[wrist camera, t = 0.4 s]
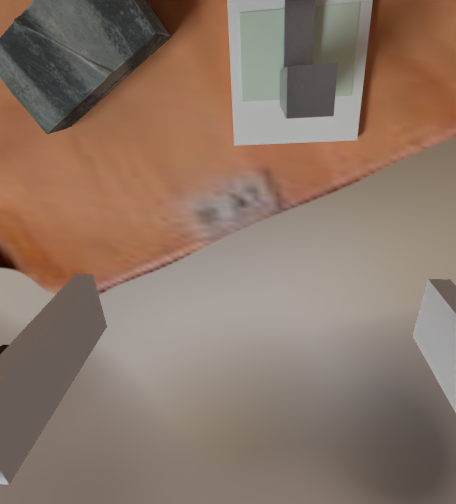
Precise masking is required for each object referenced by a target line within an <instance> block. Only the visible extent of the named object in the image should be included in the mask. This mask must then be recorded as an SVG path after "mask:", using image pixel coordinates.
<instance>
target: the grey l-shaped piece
mask: <svg viewBox="0 0 456 504" xmlns="http://www.w3.org/2000/svg"><path fill="white" fill-rule="evenodd" d="M314 18H315V0H285V1H284V68H283V69H280V107H281V109H282V111H283V113H284V115H285V117H286V119H289V118H308V117H328V116H334V105H335V92H336V80H337V67H338V63H330V64H315V65H312V59H313V38H314Z"/></svg>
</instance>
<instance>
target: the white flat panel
mask: <svg viewBox="0 0 456 504" xmlns="http://www.w3.org/2000/svg"><path fill="white" fill-rule="evenodd" d="M284 1H285V0H227V5H228V26H229V47H230V67H231V88H232V109H233V130H234V145H258V144H281V143H304V142H327V141H350V140H357V136H358V127H359V119H360V110H361V101H362V92H363V83H364V74H365V65H366V56H367V47H368V38H369V30H370V21H371V12H372V3H373V0H315V18H314V38H313V59H312V65H315V64H330V63H338V67H337V80H336V92H335V105H334V116H328V117H308V118H289V119H286V117H285V115H284V113H283V111H282V109H281V107H280V69H283V68H284Z"/></svg>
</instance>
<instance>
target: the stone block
mask: <svg viewBox="0 0 456 504" xmlns="http://www.w3.org/2000/svg"><path fill="white" fill-rule="evenodd" d="M170 37H171V35H170V34H169V33H168V31H167V30H166V28H165V27H164V25H163V24H162V22H161V21H160V19H159V18H158V16H157V15H156V13H155V12H154V10H153V9H152V8H151V6H150V5H149V3H148V2H147V0H34V1H33V2H32V3H31V4H30V5H29V7H28V8H27V9H26V10H25V11H24V12H23V13H22V15H21V16H19V17H17V18H16V19H14V23H13V24H12V25H11V26H10V27H9V28H8V29H7V31H6V32H5V33H4V34H3V35H2V36H1V38H0V78H1V79H2V80H3V82H4V83H5V85H6V86H7V88H8V89H9V90H10V91H11V93H12V94H13V95H14V96H15V97H16V98H17V100H18V101H19V102H20V103H21V104H22V105H23V106H24V107H25V109H26V110H27V111H28V112H29V114H30V115H31V116H32V117H33V118H34V120H35V121H36V122H37V123H38V124H39V126H40V127H41V128H42V129H43V130H44V131H45V133H46V134H50V133H53V132H57V131H60V130H63V129H66V128H69V127H71V126H72V125H73V124H74V123H75V122H76V121H78V120H79V119H80V118H81V117H82V116H83V115H84V114H86V113H87V112H88V111H89V110H90V109H91V108H92V107H93V106H95V105H96V104H97V103H98V102H99V101H100V100H101V99H102V98H103V97H104V96H105V95H107V94H108V93H109V92H110V91H111V90H112V89H113V88H114V87H115V86H116V85H117V84H118V83H119V82H120V81H122V80H123V79H124V78H125V77H126V76H128V75H129V74H130V73H131V72H132V71H133V70H135V69H136V68H137V67H138V66H139V65H140V64H141V63H143V62H144V61H145V60H146V59H147V58H148V57H149V56H150V55H151V54H152V53H153V52H154V51H155V50H156V49H158V48H159V47H160V46H161V45H162V44H164V43H165V42H166V41H167V40H168V39H170Z"/></svg>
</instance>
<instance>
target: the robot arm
mask: <svg viewBox="0 0 456 504" xmlns="http://www.w3.org/2000/svg"><path fill="white" fill-rule="evenodd" d="M106 327H107V325H106V321H105V318H104V314H103V310H102V306H101V303H100V299H99V295H98V292H97V288H96V284H95V280H94V277H93V274H75V275H74V276H73V277H72V278H71V279H70V280H69V282H68V283H67V284H66V285H65V286H64V287H63V288H62V289H61V290H60V291H59V292H58V293H57V294H56V295H55V297H54V298H53V299H52V300H51V301H50V302H49V303H48V304H47V305H46V306H45V307H44V308H43V309H42V311H41V312H40V313H39V314H38V315H37V316H36V317H35V318H34V319H33V320H32V321H31V322H30V323H29V324H28V325H27V327H26V328H25V329H24V330H23V331H22V332H21V333H20V334H19V335H18V336H17V337H16V339H14V340H13V342H12V343H11V344H10V345H2V346H0V484H7V485H9V484H10V483H11V481H12V479H13V478H14V476H15V474H16V473H17V471H18V470H19V468H20V466H21V465H22V463H23V462H24V460H25V458H26V457H27V455H28V453H29V452H30V450H31V449H32V447H33V445H34V444H35V442H36V440H37V439H38V437H39V436H40V434H41V432H42V431H43V429H44V427H45V426H46V424H47V423H48V421H49V419H50V418H51V416H52V415H53V413H54V411H55V410H56V408H57V406H58V405H59V403H60V402H61V400H62V398H63V397H64V395H65V394H66V392H67V390H68V389H69V387H70V385H71V384H72V382H73V381H74V379H75V377H76V376H77V374H78V373H79V371H80V369H81V368H82V366H83V364H84V363H85V361H86V360H87V358H88V356H89V355H90V353H91V351H92V350H93V348H94V347H95V345H96V343H97V342H98V340H99V338H100V336H101V335H102V334H103V332H104V330H105V329H106ZM413 337H414V339H415V341H416V343H417V345H418V346H419V348H420V350H421V352H422V354H423V355H424V357H425V359H426V360H427V363H428V364H429V366H430V368H431V370H432V371H433V373H434V375H435V377H436V379H437V380H438V382H439V384H440V386H441V387H442V389H443V391H444V393H445V395H446V396H447V398H448V400H449V401H450V403H451V405H452V407H453V409H454V410H455V412H456V286H455V284H454V283H453V282H452V281H451V280H441V279H439V280H438V279H429V280H428V282H427V286H426V290H425V293H424V297H423V301H422V304H421V308H420V311H419V315H418V319H417V322H416V325H415V329H414V333H413Z"/></svg>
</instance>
